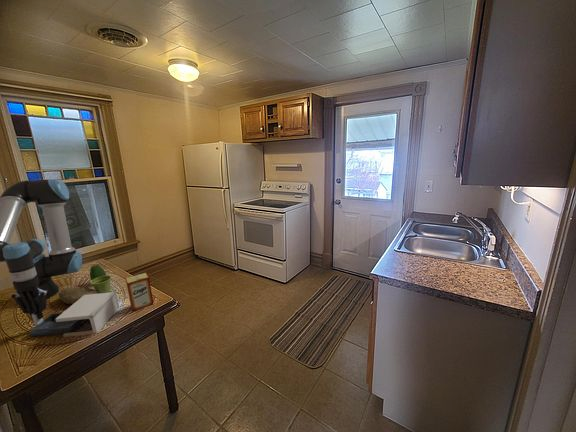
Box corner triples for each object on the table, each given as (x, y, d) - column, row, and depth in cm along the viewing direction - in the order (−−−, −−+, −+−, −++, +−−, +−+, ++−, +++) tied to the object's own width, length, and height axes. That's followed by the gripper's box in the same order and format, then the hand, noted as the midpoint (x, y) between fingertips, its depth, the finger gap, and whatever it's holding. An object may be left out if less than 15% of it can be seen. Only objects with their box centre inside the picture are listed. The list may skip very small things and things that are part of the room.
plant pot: (103, 298, 133) (100, 284, 131) (89, 296, 135) (86, 283, 133) (118, 289, 142) (115, 276, 140) (104, 288, 144) (101, 274, 141)
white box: (59, 337, 104) (54, 319, 102) (88, 310, 123) (84, 294, 120) (96, 333, 106) (91, 315, 104) (119, 307, 125) (115, 292, 122)
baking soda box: (132, 311, 121) (126, 282, 117) (130, 305, 126) (125, 277, 122) (153, 303, 127) (148, 276, 123) (151, 298, 132) (146, 271, 128)
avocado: (88, 284, 148) (84, 266, 145) (101, 278, 155) (97, 261, 152) (98, 286, 146) (93, 268, 143) (110, 280, 153) (106, 262, 150)
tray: (31, 337, 105) (29, 331, 104) (53, 319, 117) (51, 313, 116) (71, 333, 107) (69, 327, 106) (89, 315, 118) (88, 310, 118)
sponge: (57, 303, 131) (68, 308, 120) (56, 289, 132) (67, 292, 120) (87, 296, 142) (100, 300, 131) (86, 283, 142) (99, 285, 131)
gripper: (-1, 283, 100) (15, 332, 106) (34, 281, 101) (48, 329, 107) (16, 275, 107) (31, 321, 113) (48, 272, 109) (61, 318, 114)
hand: (39, 324), depth 110 cm, fingers closed
